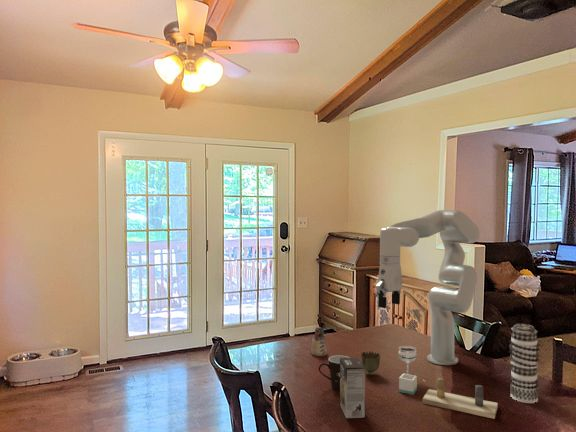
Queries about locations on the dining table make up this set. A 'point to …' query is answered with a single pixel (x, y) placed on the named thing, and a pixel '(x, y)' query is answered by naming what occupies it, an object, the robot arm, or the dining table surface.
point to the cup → (370, 362)
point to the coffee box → (352, 387)
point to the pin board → (461, 401)
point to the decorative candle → (524, 363)
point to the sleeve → (407, 383)
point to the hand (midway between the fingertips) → (389, 305)
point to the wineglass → (407, 354)
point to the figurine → (319, 343)
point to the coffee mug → (334, 370)
